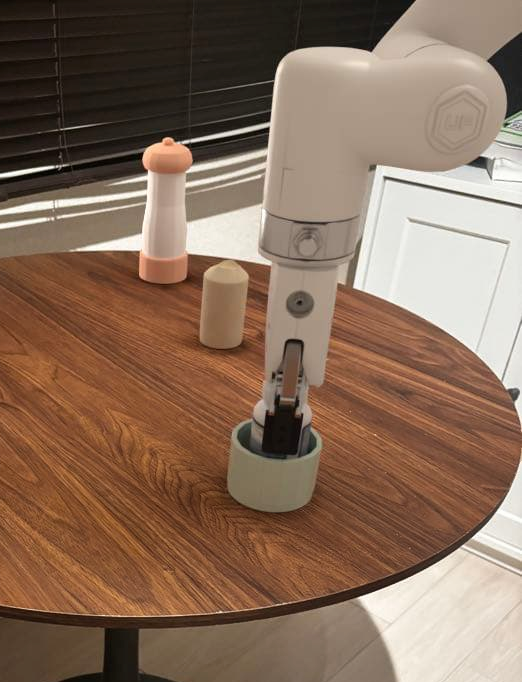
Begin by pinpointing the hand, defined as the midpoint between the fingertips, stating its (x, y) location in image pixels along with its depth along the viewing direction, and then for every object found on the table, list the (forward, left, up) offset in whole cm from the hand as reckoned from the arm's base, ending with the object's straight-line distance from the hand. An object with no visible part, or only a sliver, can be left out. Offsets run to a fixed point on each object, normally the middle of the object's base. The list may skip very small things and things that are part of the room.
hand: (280, 433), depth 74 cm
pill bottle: (0, 0, -4) cm, 4 cm away
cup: (0, 0, -6) cm, 6 cm away
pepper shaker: (+19, -55, -6) cm, 59 cm away
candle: (+8, -33, -6) cm, 35 cm away
